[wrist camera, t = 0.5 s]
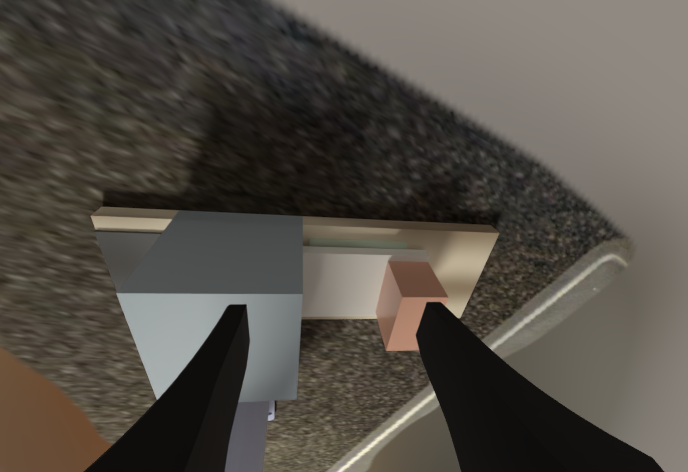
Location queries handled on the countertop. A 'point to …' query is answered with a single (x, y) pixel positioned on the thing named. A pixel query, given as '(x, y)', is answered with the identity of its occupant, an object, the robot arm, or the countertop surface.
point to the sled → (371, 288)
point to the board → (320, 244)
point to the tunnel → (220, 296)
